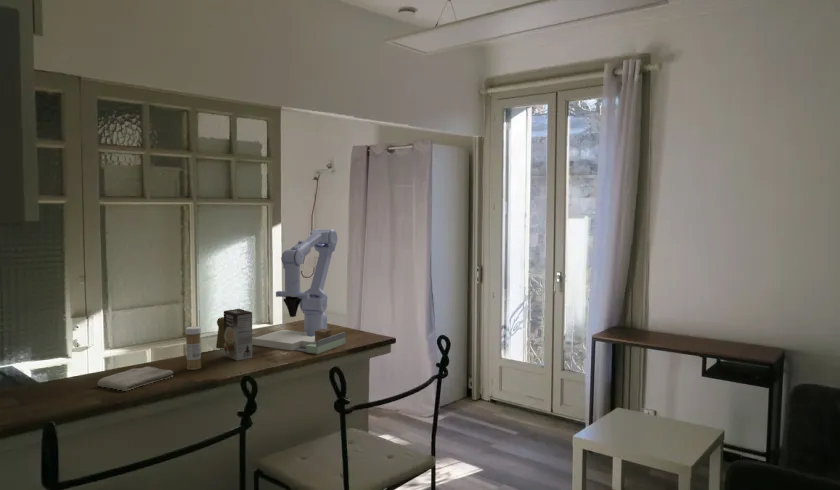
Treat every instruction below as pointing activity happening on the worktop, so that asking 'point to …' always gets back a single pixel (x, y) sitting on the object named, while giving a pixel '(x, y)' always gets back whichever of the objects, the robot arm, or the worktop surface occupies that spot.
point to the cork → (220, 333)
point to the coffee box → (238, 334)
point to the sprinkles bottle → (193, 347)
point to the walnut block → (322, 334)
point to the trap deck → (299, 341)
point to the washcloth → (134, 378)
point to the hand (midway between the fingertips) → (292, 316)
